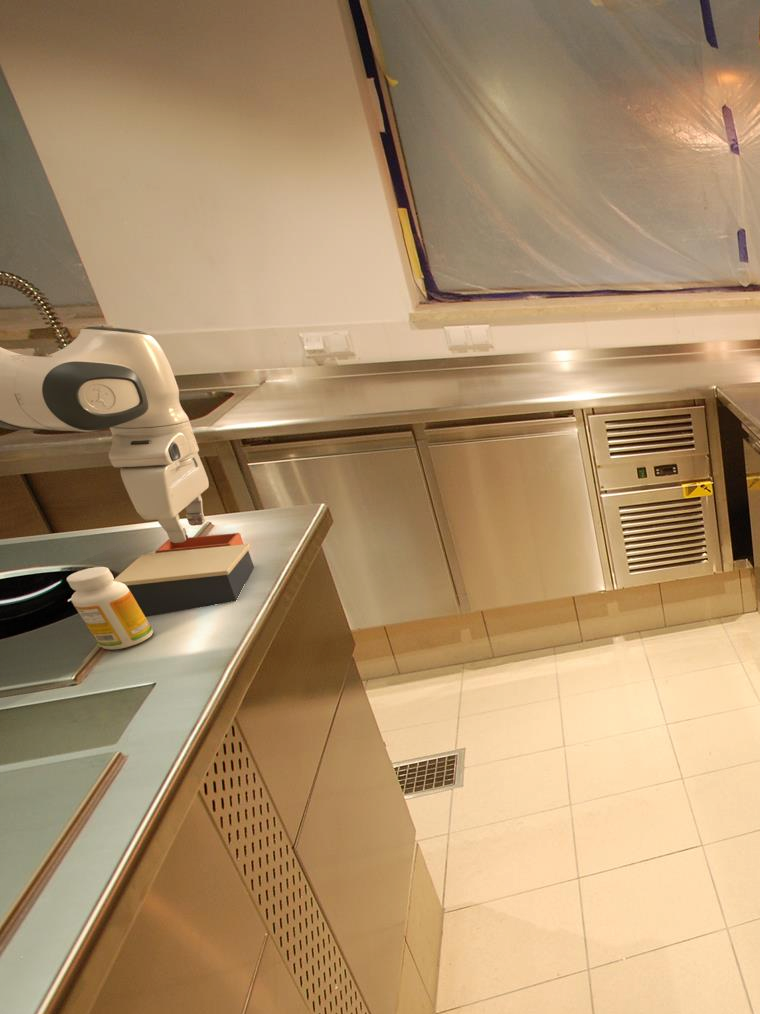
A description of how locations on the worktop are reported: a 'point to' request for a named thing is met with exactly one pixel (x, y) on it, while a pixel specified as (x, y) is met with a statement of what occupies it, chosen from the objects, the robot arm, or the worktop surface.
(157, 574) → the slate storage box
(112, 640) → the supplement bottle
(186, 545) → the terracotta tub
